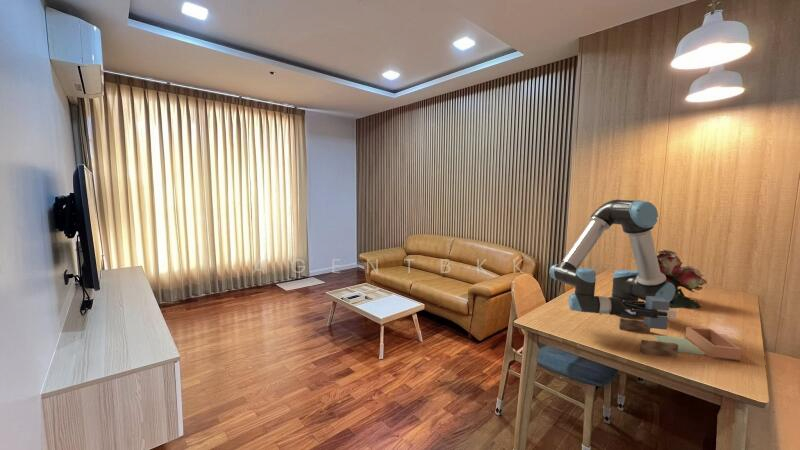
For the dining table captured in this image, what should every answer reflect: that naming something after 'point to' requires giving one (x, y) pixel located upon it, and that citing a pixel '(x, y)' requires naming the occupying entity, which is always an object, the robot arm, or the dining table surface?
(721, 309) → the dining table surface
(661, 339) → the pad
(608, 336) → the dining table surface
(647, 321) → the tall block
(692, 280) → the rose bouquet
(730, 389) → the dining table surface
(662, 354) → the walled lane
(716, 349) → the tan open box
